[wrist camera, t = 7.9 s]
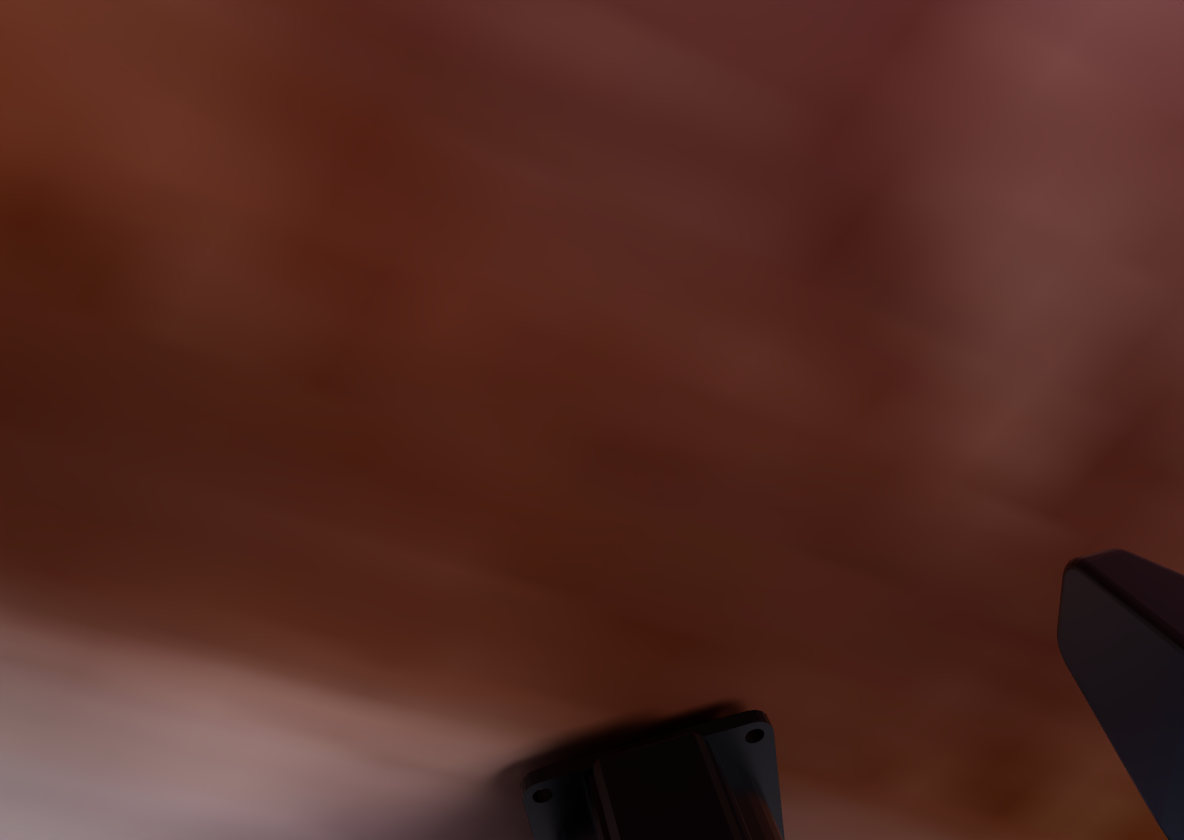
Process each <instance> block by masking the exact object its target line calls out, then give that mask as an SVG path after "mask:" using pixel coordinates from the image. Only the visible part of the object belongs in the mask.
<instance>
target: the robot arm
mask: <svg viewBox="0 0 1184 840" xmlns="http://www.w3.org/2000/svg"><path fill="white" fill-rule="evenodd" d="M1057 638H1058V645H1059V648H1060V652H1061V654H1062V657H1063V659H1064V661H1065V663H1066V665H1067V667H1068V669H1069V670H1070V672H1071V674H1072V676H1073V677H1074V679H1075V681H1076V683H1077V684H1078V686H1079V688H1080V690H1081V691H1082V693H1083V695H1084V696H1085V698H1086V700H1087V702H1088V703H1089V705H1090V707H1091V709H1092V710H1093V712H1094V714H1095V716H1096V717H1097V719H1098V721H1099V723H1100V724H1101V726H1102V728H1103V730H1104V731H1105V733H1106V735H1107V737H1108V738H1109V740H1110V742H1111V744H1112V745H1113V747H1114V749H1115V751H1116V752H1117V754H1118V756H1119V758H1120V759H1121V761H1122V763H1123V765H1124V766H1125V768H1126V770H1127V772H1128V773H1129V775H1130V777H1131V779H1132V780H1133V782H1134V784H1135V786H1136V787H1137V789H1138V791H1139V793H1140V794H1141V796H1142V798H1143V800H1144V801H1145V803H1146V805H1147V806H1148V808H1149V810H1150V811H1151V813H1152V814H1153V816H1154V818H1155V819H1156V821H1157V823H1158V824H1159V826H1160V828H1161V829H1162V831H1163V832H1164V833H1165V835H1166V836H1167V838H1168V839H1169V840H1184V575H1183V574H1180V573H1178V572H1176V571H1173V570H1171V569H1169V568H1166V567H1164V566H1162V565H1159V564H1157V563H1155V562H1152V561H1150V560H1148V559H1145V558H1143V557H1141V556H1138V555H1136V554H1134V553H1131V552H1129V551H1126V550H1123V549H1118V548H1111V549H1106V550H1102V551H1099V552H1095V553H1091V554H1088V555H1084V556H1080V557H1077V558H1074V559H1072V560H1070V561H1069V562H1068V564H1067V565H1066V567H1065V568H1064V572H1063V578H1062V587H1061V597H1060V606H1059V616H1058V626H1057ZM753 729H754V730H753ZM751 730H752V731H751ZM540 789H542V790H540ZM521 793H522V798H523V803H524V806H525V809H526V813H527V816H528V819H529V823H530V826H531V829H532V832H533V836H534V839H535V840H784V830H783V820H782V810H781V800H780V790H779V780H778V770H777V760H776V750H775V740H774V731H773V728H772V726H771V724H770V721H769V719H768V717H767V715H766V714H765V713H764V712H762V711H758V710H751V711H746V712H742V713H739V714H735V715H732V716H728V717H724V718H721V719H717V720H714V721H710V722H706V723H703V724H699V725H696V726H692V727H689V728H685V729H681V730H678V731H674V732H671V733H667V734H663V735H660V736H656V737H653V738H649V739H645V740H642V741H638V742H635V743H631V744H628V745H624V746H620V747H617V748H613V749H610V750H606V751H602V752H599V753H595V754H592V755H588V756H585V757H581V758H577V759H574V760H570V761H567V762H563V763H559V764H556V765H552V766H549V767H545V768H542V769H538V770H535V771H533V772H530V773H529V774H527V775H526V776H525V777H524V778H523V780H522V782H521Z"/></svg>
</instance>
